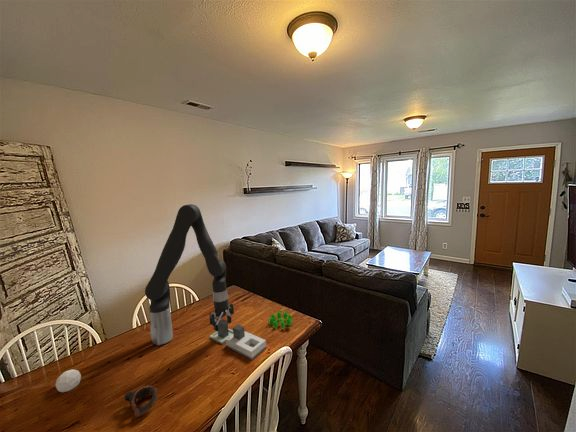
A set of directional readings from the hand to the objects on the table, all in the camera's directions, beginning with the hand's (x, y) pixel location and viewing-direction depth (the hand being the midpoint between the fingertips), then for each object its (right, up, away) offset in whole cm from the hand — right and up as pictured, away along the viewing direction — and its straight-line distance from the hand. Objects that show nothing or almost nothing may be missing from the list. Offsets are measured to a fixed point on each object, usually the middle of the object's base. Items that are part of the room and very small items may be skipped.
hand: (223, 326), depth 131 cm
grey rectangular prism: (0, -5, 0) cm, 5 cm away
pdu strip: (+14, -6, -9) cm, 18 cm away
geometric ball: (-54, -12, -31) cm, 64 cm away
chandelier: (+31, -3, +11) cm, 33 cm away
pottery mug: (-20, -12, -39) cm, 46 cm away
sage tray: (0, -5, +1) cm, 5 cm away
